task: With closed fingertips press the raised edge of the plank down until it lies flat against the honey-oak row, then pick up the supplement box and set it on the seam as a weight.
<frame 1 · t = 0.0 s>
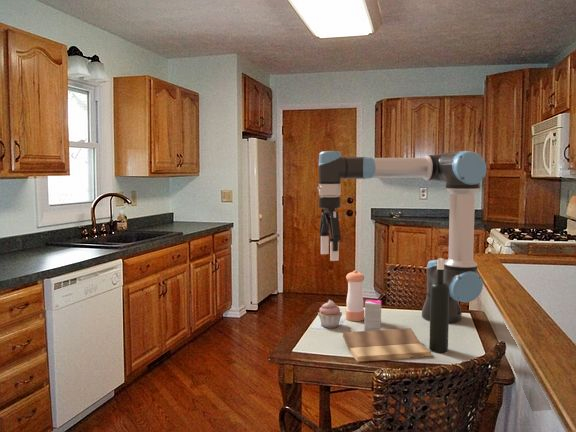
hand: (329, 257, 180), 28 cm above the table, fingers open, 13 cm apart
cupcake: (329, 326, 194), on the table
laid plank: (389, 354, 163), on the table
wine bottle: (438, 350, 167), on the table
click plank: (381, 339, 171), point 2 cm above the table, hinge at 18.3°
supplement box: (372, 333, 185), on the table
peach and white cylinder: (354, 319, 203), on the table
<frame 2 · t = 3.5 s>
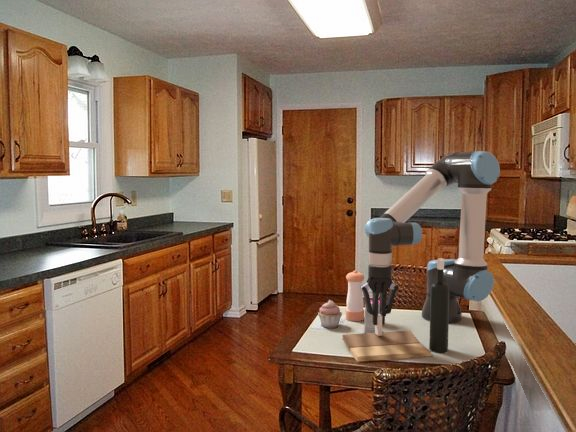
hand: (378, 334, 173), 3 cm above the table, fingers closed
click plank: (380, 340, 171), point 2 cm above the table, hinge at 11.2°, touching gripper
everything else where it was.
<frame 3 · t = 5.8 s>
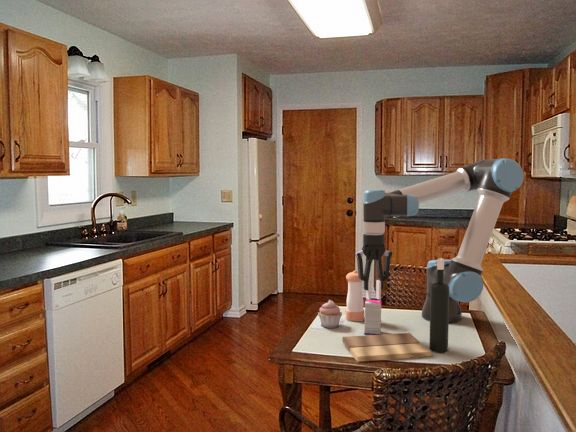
hand: (373, 298, 184), 12 cm above the table, fingers open, 3 cm apart
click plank: (380, 341, 172), point 1 cm above the table, hinge at 4.9°
everything else where it was.
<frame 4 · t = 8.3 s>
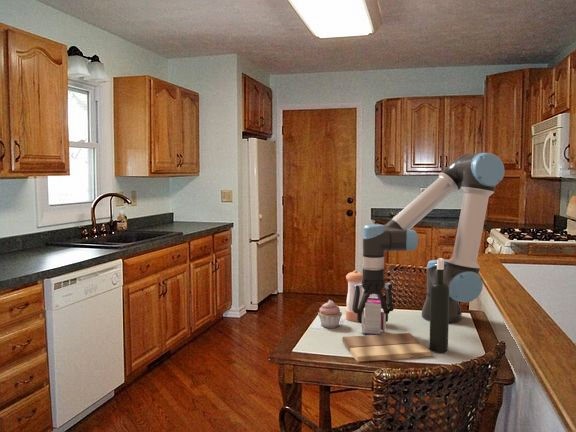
hand: (372, 330, 185), 1 cm above the table, fingers closed on supplement box, 7 cm apart
supplement box: (372, 333, 185), on the table, touching gripper
everything else where it was.
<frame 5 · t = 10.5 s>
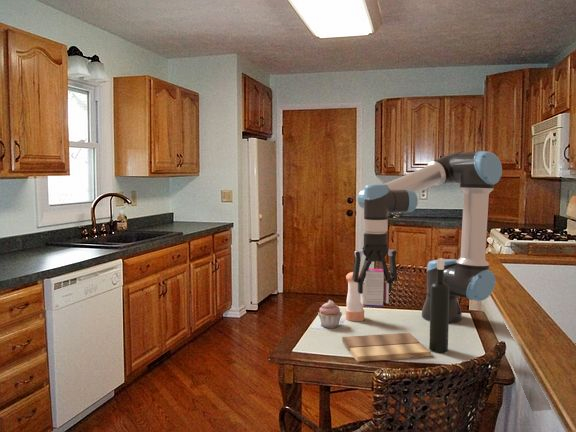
hand: (374, 302, 167), 15 cm above the table, fingers closed on supplement box, 7 cm apart
supplement box: (374, 305, 167), point 14 cm above the table, touching gripper
everything else where it was.
when the fingers open (3 cm above the table, at t = 13.1 s): supplement box stays where it is, resting on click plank.
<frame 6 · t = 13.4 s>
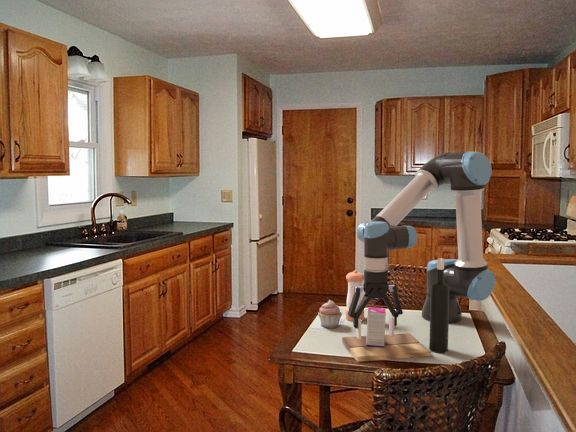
hand: (375, 336, 168), 4 cm above the table, fingers open, 10 cm apart
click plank: (380, 342, 172), point 1 cm above the table, hinge at 4.0°, touching supplement box
supplement box: (375, 344, 168), point 2 cm above the table, touching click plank
everything else where it was.
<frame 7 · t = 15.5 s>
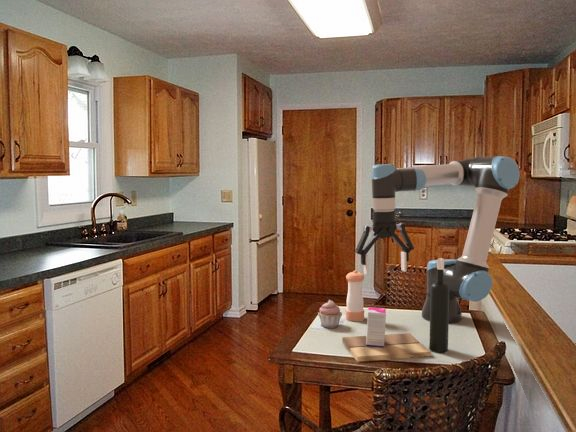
hand: (385, 272, 175), 23 cm above the table, fingers open, 13 cm apart
supplement box: (375, 344, 168), point 2 cm above the table, touching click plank, laid plank
everything else where it was.
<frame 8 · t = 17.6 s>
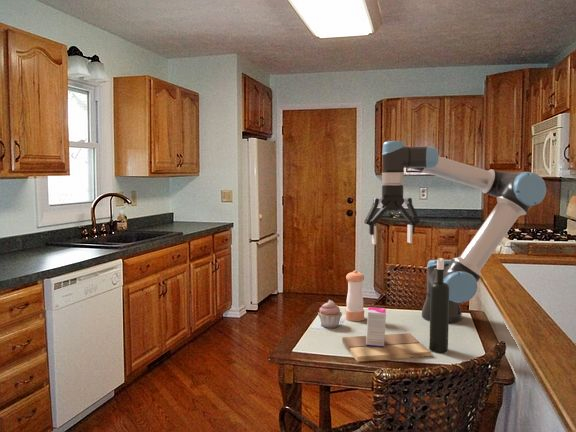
hand: (391, 243, 187), 32 cm above the table, fingers open, 13 cm apart
nothing on the table moved.
at the end: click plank at +4° (first picture: +18°); supplement box inside the target area (0.1 cm from its centre), point 1.6 cm above the table; supplement box tilted 3° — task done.
